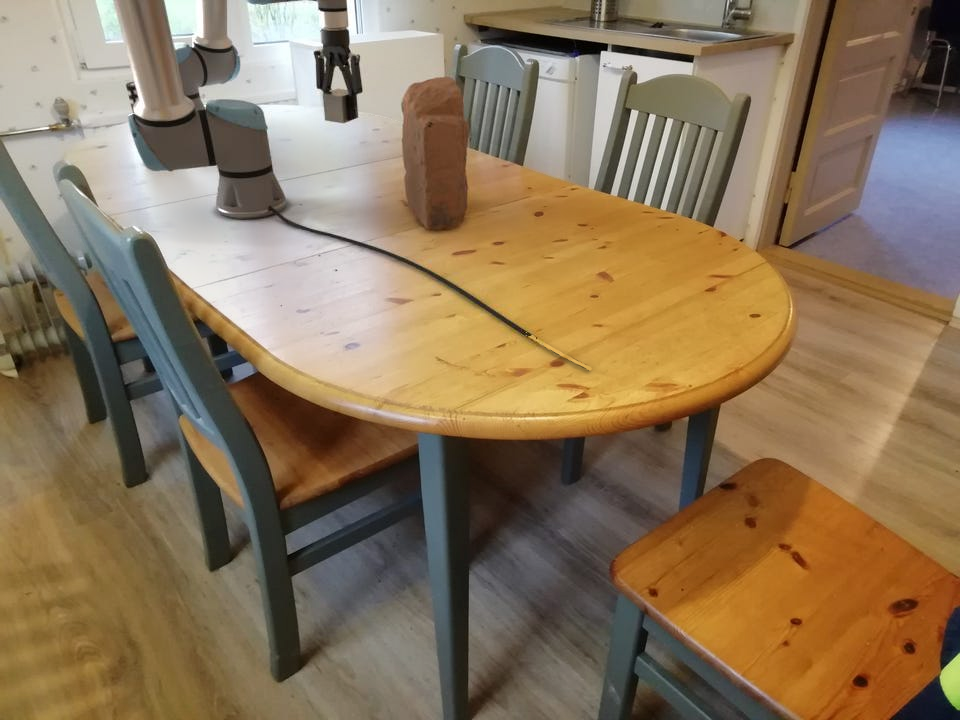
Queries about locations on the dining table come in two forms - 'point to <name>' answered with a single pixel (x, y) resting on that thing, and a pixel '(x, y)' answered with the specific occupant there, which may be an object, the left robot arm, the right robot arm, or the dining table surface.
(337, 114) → the metallic grey cube
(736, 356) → the dining table surface
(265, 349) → the dining table surface
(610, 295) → the dining table surface
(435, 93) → the stone
